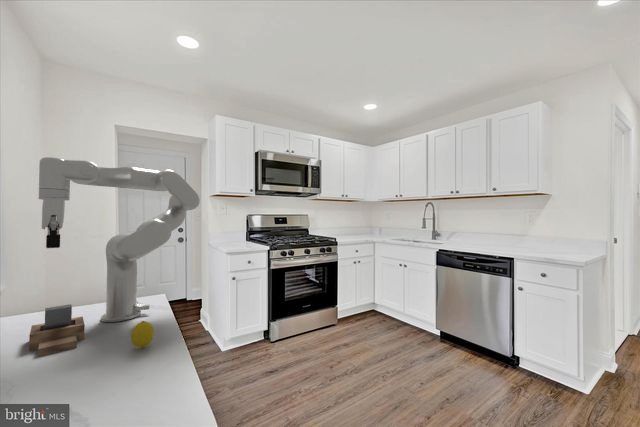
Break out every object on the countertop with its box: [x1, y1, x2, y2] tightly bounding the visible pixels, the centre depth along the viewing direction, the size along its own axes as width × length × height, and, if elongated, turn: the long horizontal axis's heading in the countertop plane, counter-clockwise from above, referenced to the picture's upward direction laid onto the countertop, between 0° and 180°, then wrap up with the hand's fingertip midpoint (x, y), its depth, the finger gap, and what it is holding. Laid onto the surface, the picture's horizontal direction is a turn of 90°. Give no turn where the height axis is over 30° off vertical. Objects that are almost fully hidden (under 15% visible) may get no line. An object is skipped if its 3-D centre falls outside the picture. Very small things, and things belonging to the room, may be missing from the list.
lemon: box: [130, 320, 155, 350], centre depth 81 cm, size 6×6×8 cm
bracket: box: [44, 303, 73, 330], centre depth 87 cm, size 6×4×10 cm, turn 134°
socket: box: [28, 316, 86, 357], centre depth 87 cm, size 12×22×4 cm, turn 43°
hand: (53, 246), depth 93 cm, fingers open, 9 cm apart
